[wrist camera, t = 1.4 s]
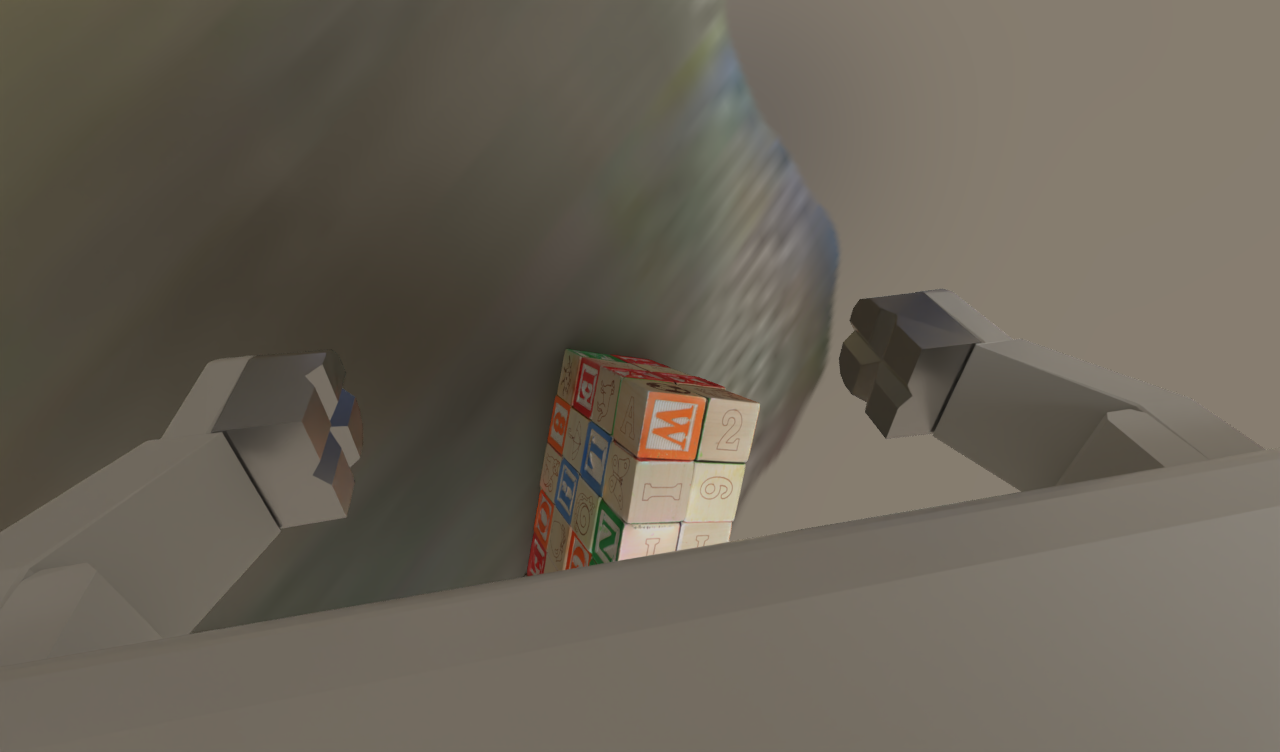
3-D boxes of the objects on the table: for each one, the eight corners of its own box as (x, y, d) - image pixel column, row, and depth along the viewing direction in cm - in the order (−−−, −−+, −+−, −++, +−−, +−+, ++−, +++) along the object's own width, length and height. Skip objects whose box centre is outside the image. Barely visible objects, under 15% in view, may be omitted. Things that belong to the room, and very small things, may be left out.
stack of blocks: (594, 647, 42) (677, 791, 31) (508, 657, 39) (566, 820, 28) (651, 357, 39) (765, 403, 28) (562, 344, 36) (651, 390, 25)
